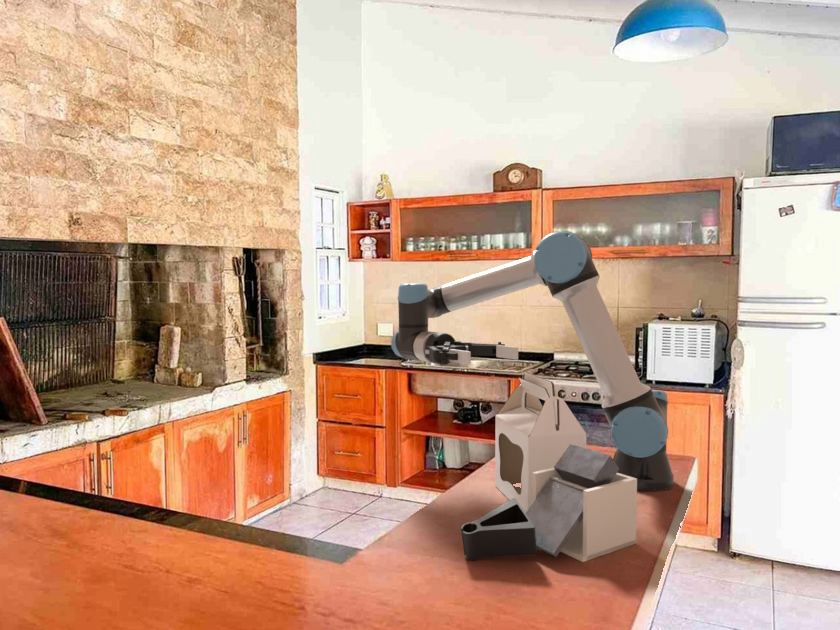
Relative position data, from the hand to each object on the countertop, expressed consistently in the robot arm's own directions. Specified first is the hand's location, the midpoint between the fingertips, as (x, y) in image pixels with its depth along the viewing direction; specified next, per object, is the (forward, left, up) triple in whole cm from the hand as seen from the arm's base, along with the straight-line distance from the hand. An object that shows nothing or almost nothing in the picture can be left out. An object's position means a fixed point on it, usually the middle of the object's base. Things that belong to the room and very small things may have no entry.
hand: (493, 355), depth 142 cm
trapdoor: (+1, +23, -26) cm, 35 cm away
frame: (-3, +23, -34) cm, 41 cm away
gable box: (-12, +1, -34) cm, 36 cm away
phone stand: (+11, +22, -28) cm, 37 cm away
